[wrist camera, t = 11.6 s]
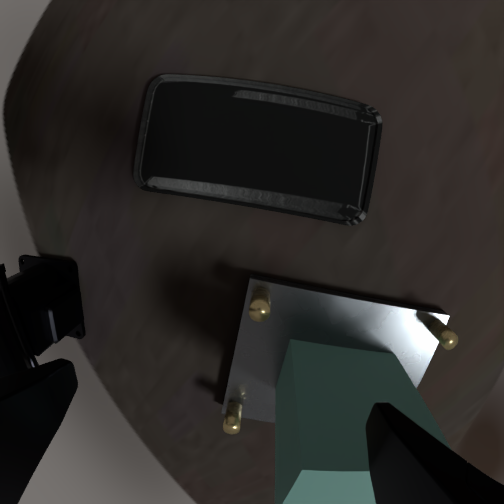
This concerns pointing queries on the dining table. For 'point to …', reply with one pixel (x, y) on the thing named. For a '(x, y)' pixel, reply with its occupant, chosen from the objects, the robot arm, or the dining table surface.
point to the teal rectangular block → (335, 420)
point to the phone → (258, 146)
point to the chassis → (320, 338)
